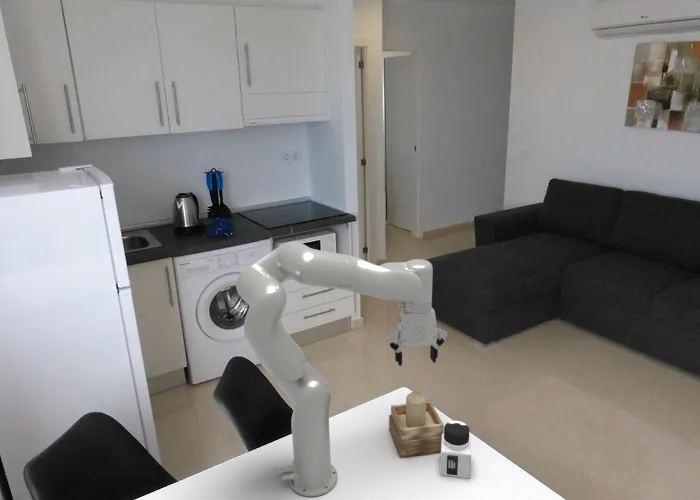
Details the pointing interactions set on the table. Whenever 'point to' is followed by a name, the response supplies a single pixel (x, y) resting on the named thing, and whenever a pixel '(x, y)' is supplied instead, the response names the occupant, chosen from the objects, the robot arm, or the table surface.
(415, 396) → the candle
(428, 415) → the top crate
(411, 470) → the table surface
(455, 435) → the container
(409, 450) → the base crate
